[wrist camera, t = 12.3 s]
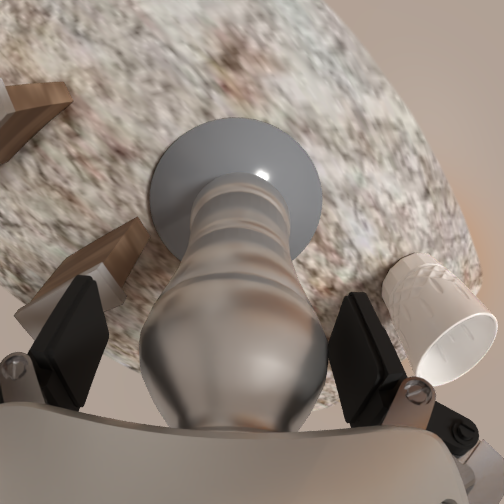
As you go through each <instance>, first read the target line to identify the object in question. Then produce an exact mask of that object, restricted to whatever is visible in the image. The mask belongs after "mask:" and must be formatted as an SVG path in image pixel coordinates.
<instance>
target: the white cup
mask: <svg viewBox="0 0 504 504" xmlns="http://www.w3.org/2000/svg"><path fill="white" fill-rule="evenodd" d="M382 298H383V300H384V302H385V304H386V306H387V308H388V310H389V313H390V316H391V320H392V322H393V325H394V327H395V330H396V332H397V335H398V337H399V339H400V341H401V344H402V346H403V348H404V351H405V353H406V355H407V358H408V360H409V362H410V365H411V367H412V370H413V372H414V375H415V377H420V378H423V379H425V380H427V381H428V382H429V383H430V384H431V385H432V386H433V387H434V386H440V385H443V384H446V383H449V382H451V381H453V380H455V379H457V378H459V377H461V376H462V375H464V374H465V373H467V372H468V371H469V370H471V369H472V368H473V367H474V366H475V365H476V364H477V363H478V362H479V361H480V360H481V359H482V358H483V357H484V356H485V354H486V353H487V352H488V350H489V349H490V347H491V346H492V344H493V342H494V339H495V337H496V334H497V329H498V323H497V320H496V318H495V316H494V315H493V314H492V313H491V312H490V311H489V310H488V309H487V308H486V307H485V306H484V305H483V303H482V302H481V301H480V300H479V299H478V298H477V297H476V296H475V295H474V294H473V293H472V292H471V291H470V290H469V289H468V288H467V287H466V286H465V285H464V284H463V283H462V282H461V281H460V280H459V279H458V278H457V277H456V276H455V275H454V274H453V273H452V272H451V271H450V270H448V269H447V268H445V267H444V266H443V265H442V264H441V263H440V262H439V261H438V260H436V259H435V258H434V257H432V256H431V255H430V254H428V253H414V254H411V255H409V256H406V257H404V258H402V259H400V260H399V261H398V262H397V263H396V264H395V265H394V266H393V267H392V268H391V269H390V270H389V272H388V274H387V275H386V277H385V279H384V281H383V284H382Z"/></svg>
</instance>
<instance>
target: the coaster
mask: <svg viewBox="0 0 504 504" xmlns="http://www.w3.org/2000/svg"><path fill="white" fill-rule="evenodd" d="M234 172H244V173H250V174H254V175H256V176H259V177H261V178H263V179H264V180H266V181H268V182H269V183H270V184H271V185H272V186H273V187H274V188H276V189H277V190H278V191H279V193H280V194H281V195H282V197H283V198H284V200H285V202H286V204H287V206H288V209H289V214H290V236H289V250H290V256H291V260H294V259H295V258H296V257H297V256H298V255H299V254H300V253H301V252H302V251H303V250H304V249H305V247H306V246H307V245H308V243H309V242H310V240H311V238H312V237H313V235H314V233H315V231H316V228H317V226H318V223H319V219H320V216H321V210H322V189H321V183H320V179H319V176H318V173H317V170H316V168H315V166H314V164H313V162H312V160H311V159H310V157H309V156H308V154H307V153H306V151H305V150H304V149H303V148H302V147H301V146H300V145H299V143H298V142H296V141H295V140H294V139H293V138H292V137H291V136H289V135H288V134H287V133H285V132H284V131H282V130H280V129H279V128H277V127H275V126H273V125H270V124H268V123H266V122H262V121H259V120H255V119H249V118H236V117H230V118H222V119H217V120H213V121H209V122H206V123H204V124H201V125H199V126H197V127H195V128H193V129H191V130H190V131H188V132H186V133H185V134H184V135H182V136H181V137H180V138H179V139H177V140H176V141H175V142H174V143H173V144H172V145H171V146H170V147H169V148H168V150H167V151H166V152H165V154H164V155H163V157H162V158H161V159H160V161H159V163H158V165H157V167H156V170H155V172H154V175H153V178H152V183H151V188H150V209H151V215H152V219H153V223H154V225H155V228H156V230H157V232H158V234H159V236H160V238H161V240H162V241H163V243H164V244H165V245H166V247H167V248H168V249H169V250H170V251H171V253H172V254H173V255H174V256H175V257H176V258H178V259H179V260H180V261H182V259H183V257H184V255H185V252H186V250H187V248H188V244H189V238H190V233H191V232H190V218H191V210H192V206H193V203H194V201H195V199H196V197H197V195H198V193H199V192H200V191H201V190H202V189H203V188H204V187H205V186H206V185H207V184H209V183H210V182H211V181H213V180H214V179H216V178H218V177H220V176H222V175H225V174H229V173H234Z"/></svg>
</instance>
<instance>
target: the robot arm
mask: <svg viewBox="0 0 504 504" xmlns="http://www.w3.org/2000/svg"><path fill="white" fill-rule="evenodd" d="M108 339H109V331H108V327H107V323H106V320H105V316H104V312H103V308H102V304H101V299H100V295H99V291H98V286H97V282H96V280H93V278H92V277H91V276H88V275H76V276H75V278H74V279H73V281H72V282H71V284H70V285H69V287H68V288H67V290H66V291H65V293H64V294H63V296H62V297H61V299H60V300H59V302H58V303H57V305H56V307H55V308H54V310H53V311H52V313H51V315H50V316H49V318H48V319H47V321H46V323H45V324H44V326H43V328H42V329H41V331H40V333H39V334H38V336H37V338H36V340H35V341H34V343H33V345H32V347H31V349H30V350H29V352H28V354H25V353H22V352H15V353H11V354H9V355H8V356H6V357H5V358H4V359H3V360H2V362H1V363H0V504H499V502H500V501H501V499H502V497H503V496H504V458H503V457H502V456H501V455H500V454H499V453H498V452H497V451H495V450H494V449H493V448H492V447H491V446H490V445H489V444H488V443H487V442H486V441H485V440H484V439H483V440H482V441H480V440H479V434H478V429H477V427H476V425H475V424H474V423H473V422H472V421H471V420H470V419H468V418H466V417H464V416H462V415H460V414H459V413H457V412H455V411H453V410H451V409H449V408H447V407H446V406H444V405H442V404H440V403H438V402H437V401H435V400H436V393H435V390H434V388H433V386H432V385H431V384H430V383H429V382H428V381H427V380H425V379H423V378H420V377H415V376H412V377H407V375H406V373H405V371H404V368H403V366H402V364H401V362H400V360H399V357H398V355H397V353H396V351H395V349H394V347H393V345H392V343H391V340H390V338H389V336H388V334H387V332H386V330H385V329H384V327H383V326H382V325H381V323H380V321H379V319H378V317H377V315H376V313H375V311H374V309H373V307H372V305H371V303H370V301H369V299H368V297H367V295H366V293H364V292H350V293H349V295H348V296H345V297H344V299H343V302H342V305H341V308H340V311H339V314H338V317H337V320H336V323H335V326H334V329H333V331H332V334H331V337H330V340H329V343H328V349H329V361H330V365H331V368H332V372H333V376H334V379H335V383H336V387H337V391H338V394H339V398H340V402H341V406H342V409H343V414H344V418H345V421H346V422H347V423H350V426H351V428H347V429H336V430H322V431H307V432H283V433H240V432H215V431H200V430H188V429H178V428H169V427H160V426H152V425H146V424H139V423H133V422H126V421H121V420H116V419H111V418H106V417H101V416H96V415H91V414H86V413H82V412H79V409H80V407H83V406H84V404H85V402H86V399H87V396H88V393H89V390H90V387H91V384H92V381H93V379H94V376H95V373H96V370H97V368H98V365H99V362H100V360H101V357H102V355H103V352H104V349H105V347H106V344H107V342H108Z"/></svg>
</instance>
